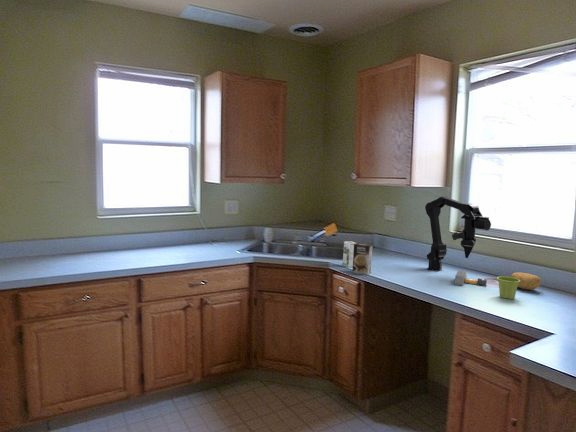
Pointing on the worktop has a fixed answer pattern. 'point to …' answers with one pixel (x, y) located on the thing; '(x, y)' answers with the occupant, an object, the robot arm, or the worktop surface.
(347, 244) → the syrup box
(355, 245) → the coffee box
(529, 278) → the potato
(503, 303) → the worktop surface
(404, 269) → the worktop surface
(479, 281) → the plug
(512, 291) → the plant pot
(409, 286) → the worktop surface
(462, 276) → the housing
